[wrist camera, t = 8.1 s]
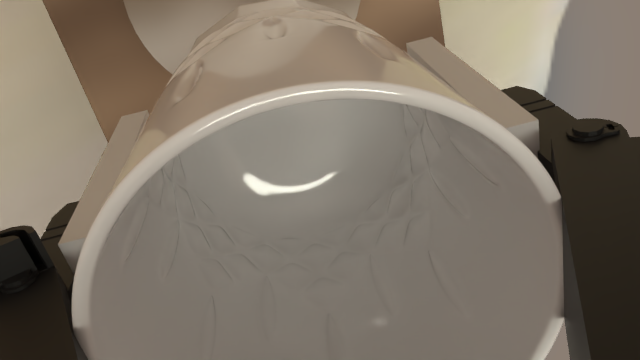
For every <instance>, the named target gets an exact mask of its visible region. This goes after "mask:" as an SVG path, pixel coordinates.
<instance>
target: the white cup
mask: <svg viewBox="0 0 640 360" xmlns="http://www.w3.org/2000/svg"><path fill="white" fill-rule="evenodd" d="M71 308H72V324H73V332H74V335H75V337H76V339H77V340H78V342H79V344H80V346H81V348H82V349H83V351H84V353H85V355H86V356H87V358H88V360H544V359H545V358H546V356H547V354H548V353H549V351H550V350H551V347H552V346H553V344H554V342H555V340H556V338H557V336H558V334H559V331H560V329H561V327H562V324H563V321H564V282H563V230H562V197H561V195H560V193H559V191H558V189H557V187H556V185H555V183H554V181H553V180H552V178H551V176H550V175H549V173H548V172H547V170H546V169H545V168H544V166H543V165H542V163H541V162H540V161H539V160H538V158H537V157H536V156H535V155H534V154H533V153H532V152H531V150H530V149H529V148H528V147H527V146H526V145H525V144H524V143H523V142H522V141H521V140H519V139H518V138H517V137H516V136H515V135H514V134H513V133H511V132H510V131H509V130H508V129H506V128H505V127H504V126H502V125H501V124H500V123H498V122H497V121H496V120H494V119H493V118H492V117H490V116H489V115H488V114H486V113H485V112H484V111H482V110H481V109H479V108H478V107H477V106H475V105H474V104H473V103H471V102H470V101H469V100H467V99H466V98H465V97H463V96H462V95H461V94H459V93H458V92H457V91H455V90H454V89H453V88H452V87H450V86H449V85H448V84H446V83H445V82H444V81H442V80H441V79H440V78H439V77H437V76H436V75H435V74H433V73H432V72H431V71H430V70H428V69H427V68H426V67H424V66H423V65H422V64H421V63H419V62H418V61H417V60H415V59H414V58H413V57H412V56H410V55H409V54H408V53H406V52H405V51H404V50H402V49H401V48H399V47H398V46H396V45H395V44H393V43H391V42H390V41H388V40H387V39H385V38H384V37H383V36H381V35H380V34H378V33H377V32H375V31H374V30H372V29H371V28H369V27H367V26H365V25H363V24H361V23H359V22H357V21H355V20H353V19H352V18H351V17H349V16H348V15H347V14H346V13H345V12H344V11H342V10H339V9H335V8H332V7H328V6H325V5H321V4H318V3H314V2H311V1H307V0H267V1H262V2H257V3H251V4H246V5H241V6H238V7H237V8H235V9H234V10H233V11H231V12H230V13H229V14H227V15H226V16H225V17H223V18H222V19H221V20H220V21H218V22H217V23H216V24H214V25H213V26H212V27H210V28H209V29H208V30H206V31H205V32H204V33H203V34H201V35H200V36H199V37H197V38H196V40H195V42H194V44H193V46H192V48H191V51H190V53H189V55H188V56H187V57H186V58H185V59H184V60H183V62H182V63H181V64H180V65H179V66H178V68H177V69H176V71H175V72H174V73H173V75H172V77H171V78H170V80H169V82H168V83H167V85H166V87H165V88H164V90H163V91H162V93H161V94H160V96H159V97H158V99H157V101H156V103H155V105H154V107H153V109H152V111H151V113H150V115H149V117H148V118H147V120H146V122H145V124H144V126H143V128H142V130H141V132H140V134H139V136H138V137H137V139H136V141H135V143H134V145H133V147H132V149H131V151H130V153H129V155H128V157H127V159H126V161H125V163H124V165H123V167H122V169H121V171H120V173H119V174H118V176H117V178H116V180H115V182H114V184H113V186H112V188H111V190H110V191H109V193H108V195H107V197H106V199H105V201H104V203H103V205H102V207H101V208H100V210H99V212H98V214H97V216H96V218H95V220H94V221H93V223H92V225H91V227H90V229H89V232H88V234H87V236H86V238H85V241H84V243H83V246H82V249H81V252H80V255H79V258H78V262H77V266H76V270H75V275H74V280H73V288H72V307H71Z"/></svg>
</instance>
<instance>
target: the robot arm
mask: <svg viewBox="0 0 640 360" xmlns="http://www.w3.org/2000/svg"><path fill="white" fill-rule="evenodd" d="M406 46H407V53H408V54H409V55H410V56H412V57H413V58H414V59H415V60H417V61H418V62H419V63H421V64H422V65H423V66H424V67H426V68H427V69H428V70H430V71H431V72H432V73H433V74H435V75H436V76H437V77H439V78H440V79H441V80H442V81H444V82H445V83H446V84H448V85H449V86H450V87H452V88H453V89H454V90H455V91H457V92H458V93H459V94H461V95H462V96H463V97H465V98H466V99H467V100H469V101H470V102H471V103H473V104H474V105H475V106H477V107H478V108H479V109H481V110H482V111H484V112H485V113H486V114H488V115H489V116H490V117H492V118H493V119H494V120H496V121H497V122H498V123H500V124H501V125H502V126H504V127H505V128H506V129H508V130H509V131H510V132H511V133H513V134H514V135H515V136H516V137H517V138H518V139H519V140H521V141H522V142H523V143H524V144H525V145H526V146H527V147H528V148H529V149H530V150H531V152H532V153H533V154H534V155H535V156H536V157H537V158H538V160H539V161H540V162H541V163H542V165H543V166H544V168H545V169H546V170H547V172H548V173H549V175H550V176H551V178H552V180H553V181H554V183H555V185H556V187H557V189H558V191H559V193H560V195H561V197H562V230H563V282H564V319H565V326H566V333H567V340H568V347H569V354H570V360H640V137H631V138H630V137H629V135H628V133H627V130H626V129H625V128H624V127H623V126H622V125H621V124H618V123H615V122H613V121H610V120H604V119H578V120H577V119H575V118H574V117H573V116H571V115H569V114H568V113H567V112H565V111H564V110H562V109H561V108H559V107H558V106H555V104H554V103H552V102H551V101H549V100H546V98H545V97H544V96H542V95H541V94H539V93H538V92H536V91H535V90H531V89H527V88H523V87H519V86H515V87H511V88H508V89H504V90H500V89H498V88H497V87H496V86H494V85H493V84H492V83H491V82H489V81H488V80H487V79H485V78H484V77H483V76H482V75H480V74H479V73H478V72H476V71H475V70H474V69H473V68H471V67H470V66H469V65H467V64H466V63H465V62H464V61H462V60H461V59H460V58H458V57H457V56H456V55H455V54H453V53H452V52H451V51H449V50H448V49H447V48H446V47H444V46H443V45H442V44H440V43H439V42H438V41H437V40H435V39H434V38H433V37H429V38H425V39H421V40H417V41H413V42H409V43H406ZM148 117H149V113H148V110H145V111H141V112H137V113H133V114H129V115H126V116H122V117H121V118H120V120H119V122H118V124H117V126H116V128H115V130H114V132H113V134H112V136H111V138H110V141H109V143H108V145H107V147H106V149H105V151H104V153H103V155H102V157H101V159H100V161H99V163H98V165H97V167H96V169H95V171H94V173H93V175H92V177H91V179H90V181H89V183H88V185H87V187H86V189H85V191H84V193H83V195H82V197H81V199H80V201H77V202H73V203H69V204H67V205H65V206H64V207H63V208H62V209H61V210H60V211H59V212H58V213H57V214H56V215H54V216H53V217H52V219H51V221H50V223H49V225H48V226H47V228H46V232H44V234H43V236H42V237H41V239H40V238H39V236H38V234H37V233H36V231H35V230H34V229H33V228H32V227H30V226H18V227H11V228H8V229H5V230H3V231H0V360H88V358H87V356H86V355H85V353H84V351H83V349H82V348H81V346H80V344H79V342H78V340H77V339H76V337H75V335H74V332H73V324H72V308H71V307H72V288H73V280H74V275H75V270H76V266H77V262H78V258H79V255H80V252H81V249H82V246H83V243H84V241H85V238H86V236H87V234H88V232H89V229H90V227H91V225H92V223H93V221H94V220H95V218H96V216H97V214H98V212H99V210H100V208H101V207H102V205H103V203H104V201H105V199H106V197H107V195H108V193H109V191H110V190H111V188H112V186H113V184H114V182H115V180H116V178H117V176H118V174H119V173H120V171H121V169H122V167H123V165H124V163H125V161H126V159H127V157H128V155H129V153H130V151H131V149H132V147H133V145H134V143H135V141H136V139H137V137H138V136H139V134H140V132H141V130H142V128H143V126H144V124H145V122H146V120H147V118H148Z"/></svg>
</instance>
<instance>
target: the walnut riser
mask: <svg viewBox="0 0 640 360" xmlns="http://www.w3.org/2000/svg"><path fill="white" fill-rule="evenodd" d="M262 1H267V0H43V3H44V5H45V7H46V9H47V11H48V13H49V16H50V18H51V20H52V22H53V24H54V26H55V29H56V31H57V33H58V35H59V37H60V39H61V42H62V44H63V46H64V48H65V50H66V52H67V55H68V57H69V59H70V61H71V63H72V65H73V68H74V70H75V72H76V74H77V76H78V78H79V81H80V83H81V85H82V87H83V89H84V91H85V94H86V96H87V98H88V100H89V102H90V104H91V107H92V109H93V111H94V113H95V115H96V117H97V120H98V122H99V124H100V126H101V128H102V130H103V133H104V135H105V137H106V139H107V141H108V143H109V141H110V138H111V136H112V134H113V132H114V130H115V128H116V126H117V124H118V122H119V120H120V118H121V117H122V116H126V115H129V114H133V113H137V112H141V111H145V110H148V113H149V115H150V113H151V111H152V109H153V107H154V105H155V103H156V101H157V99H158V97H159V96H160V94H161V93H162V91H163V90H164V88H165V87H166V85H167V83H168V82H169V80H170V78H171V77H172V75H173V73H174V72H175V71H176V69H177V68H178V66H179V65H180V64H181V63H182V62H183V60H184V59H185V58H186V57H187V56H188V55H189V53H190V51H191V48H192V46H193V44H194V42H195V40H196V38H197V37H199V36H200V35H201V34H203V33H204V32H205V31H206V30H208V29H209V28H210V27H212V26H213V25H214V24H216V23H217V22H218V21H220V20H221V19H222V18H223V17H225V16H226V15H227V14H229V13H230V12H231V11H233V10H234V9H235V8H237V7H238V6H241V5H246V4H251V3H257V2H262ZM307 1H311V2H314V3H318V4H321V5H325V6H328V7H332V8H335V9H339V10H342V11H344V12H345V13H346V14H347V15H348V16H349V17H351V18H352V19H353V20H355V21H357V22H359V23H361V24H363V25H365V26H367V27H369V28H371V29H372V30H374V31H375V32H377V33H378V34H380V35H381V36H383V37H384V38H385V39H387V40H388V41H390V42H391V43H393V44H395V45H396V46H398V47H399V48H401V49H402V50H404V51H405V52H406V53H407V46H406V43H409V42H413V41H417V40H421V39H425V38H429V37H433V38H434V39H435V40H437V41H438V42H439V43H440V44H442V45H443V46H444V47H445V43H444V35H443V28H442V21H441V14H440V6H439V0H307Z"/></svg>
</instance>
